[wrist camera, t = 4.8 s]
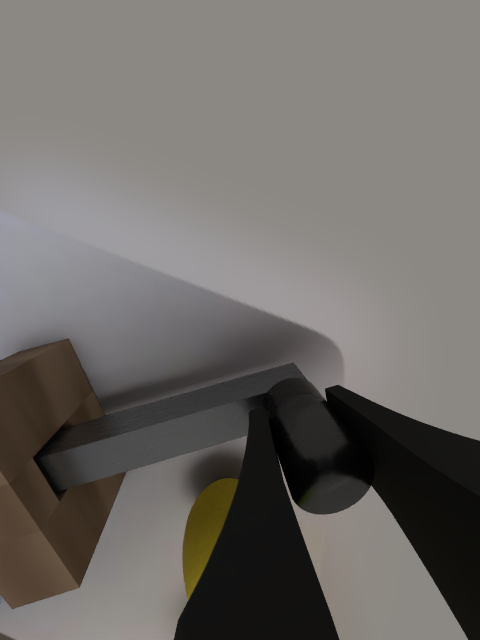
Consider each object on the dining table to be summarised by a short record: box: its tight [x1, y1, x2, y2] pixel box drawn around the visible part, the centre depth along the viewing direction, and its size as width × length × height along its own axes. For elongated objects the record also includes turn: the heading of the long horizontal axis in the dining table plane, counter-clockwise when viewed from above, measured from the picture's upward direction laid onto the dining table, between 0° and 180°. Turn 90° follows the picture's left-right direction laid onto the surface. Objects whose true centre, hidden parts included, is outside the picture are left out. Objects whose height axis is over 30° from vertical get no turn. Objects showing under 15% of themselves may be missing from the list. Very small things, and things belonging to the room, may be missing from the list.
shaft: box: [33, 363, 375, 514], centre depth 10 cm, size 15×3×6 cm, turn 104°
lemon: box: [183, 478, 239, 600], centre depth 14 cm, size 6×6×8 cm
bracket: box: [0, 339, 127, 609], centre depth 12 cm, size 3×10×6 cm, turn 14°
